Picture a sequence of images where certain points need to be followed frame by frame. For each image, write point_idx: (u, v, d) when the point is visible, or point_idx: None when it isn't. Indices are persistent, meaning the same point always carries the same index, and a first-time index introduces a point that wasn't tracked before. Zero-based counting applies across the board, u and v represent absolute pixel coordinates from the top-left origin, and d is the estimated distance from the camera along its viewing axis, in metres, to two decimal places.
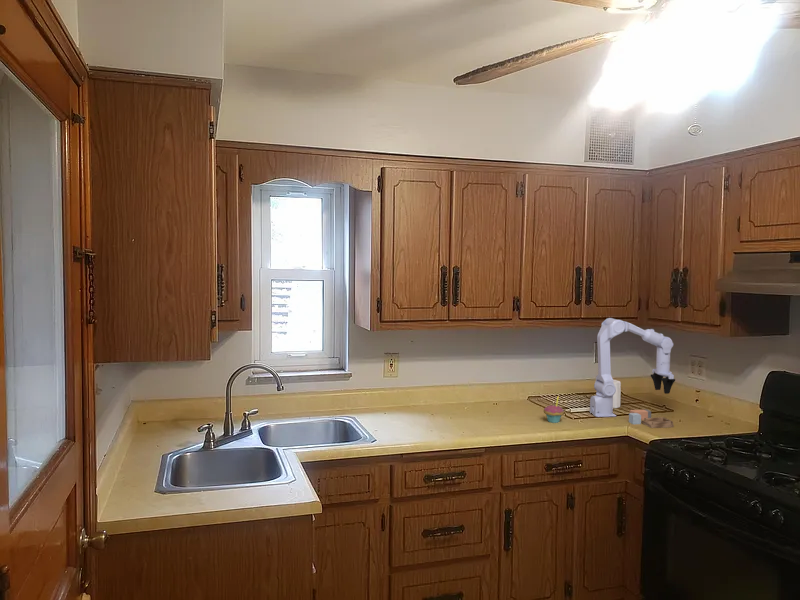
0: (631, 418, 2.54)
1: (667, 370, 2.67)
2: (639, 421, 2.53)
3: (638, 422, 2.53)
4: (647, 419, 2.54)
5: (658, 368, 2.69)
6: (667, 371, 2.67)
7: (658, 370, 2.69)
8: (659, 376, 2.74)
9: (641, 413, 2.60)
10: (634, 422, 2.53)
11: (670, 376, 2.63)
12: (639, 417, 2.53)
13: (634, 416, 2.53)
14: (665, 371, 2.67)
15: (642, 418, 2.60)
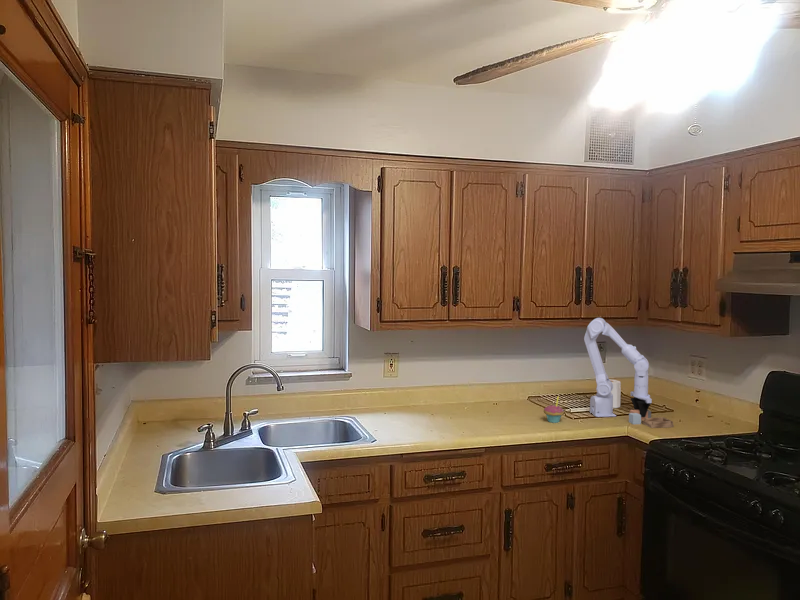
0: (631, 418, 2.54)
1: (645, 393, 2.59)
2: (639, 421, 2.53)
3: (638, 422, 2.53)
4: (647, 419, 2.54)
5: (636, 391, 2.60)
6: (645, 394, 2.59)
7: (636, 393, 2.60)
8: (639, 400, 2.64)
9: None
10: (634, 422, 2.53)
11: (648, 400, 2.54)
12: (639, 417, 2.53)
13: (634, 416, 2.53)
14: (643, 394, 2.58)
15: (642, 418, 2.60)
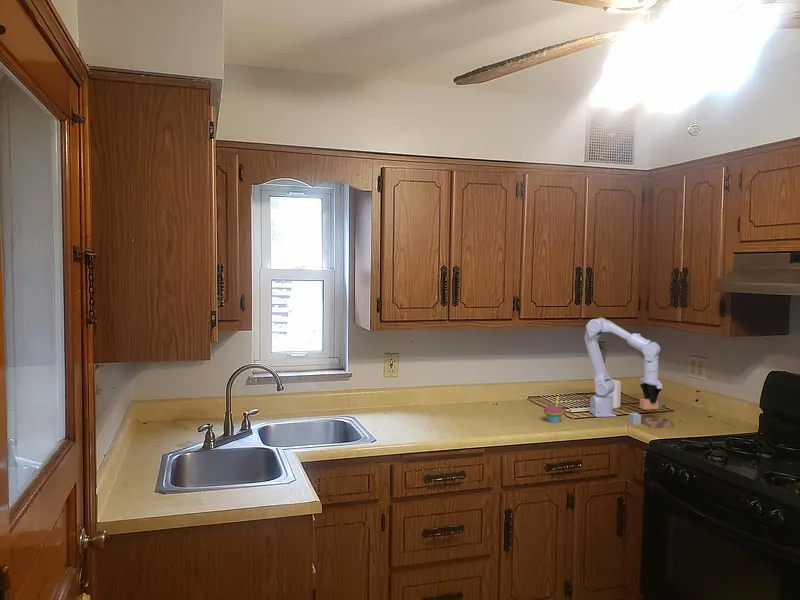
0: (631, 418, 2.54)
1: (655, 379, 2.52)
2: (639, 421, 2.53)
3: (638, 422, 2.53)
4: (647, 419, 2.54)
5: (646, 377, 2.54)
6: (655, 380, 2.52)
7: (646, 379, 2.54)
8: (649, 386, 2.57)
9: None
10: (634, 422, 2.53)
11: (658, 385, 2.48)
12: (639, 417, 2.53)
13: (634, 416, 2.53)
14: (653, 380, 2.52)
15: (652, 407, 2.54)
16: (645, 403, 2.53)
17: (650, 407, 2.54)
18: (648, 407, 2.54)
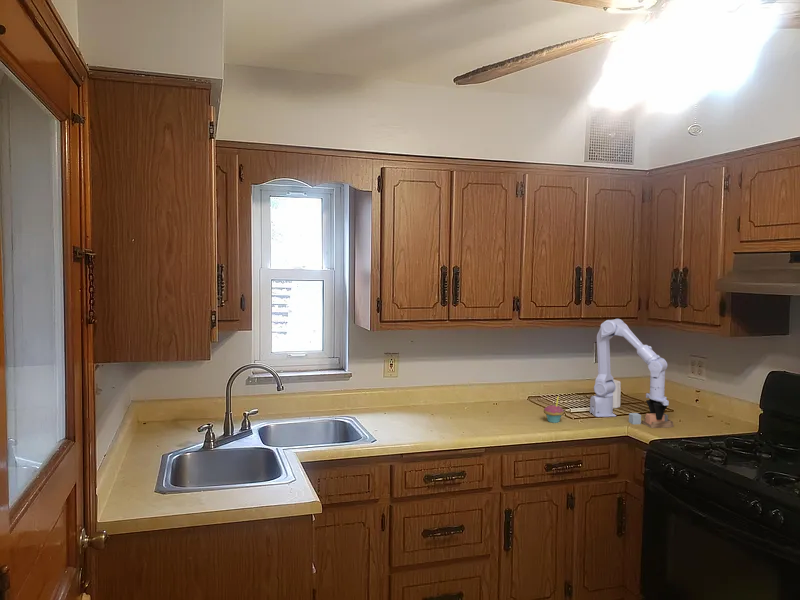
0: (631, 418, 2.54)
1: (661, 395, 2.48)
2: (639, 421, 2.53)
3: (638, 422, 2.53)
4: None
5: (652, 393, 2.50)
6: (661, 396, 2.48)
7: (652, 395, 2.50)
8: (655, 402, 2.53)
9: None
10: (634, 422, 2.53)
11: (665, 402, 2.44)
12: (639, 417, 2.53)
13: (634, 416, 2.53)
14: (659, 396, 2.48)
15: None
16: (651, 418, 2.49)
17: None
18: None
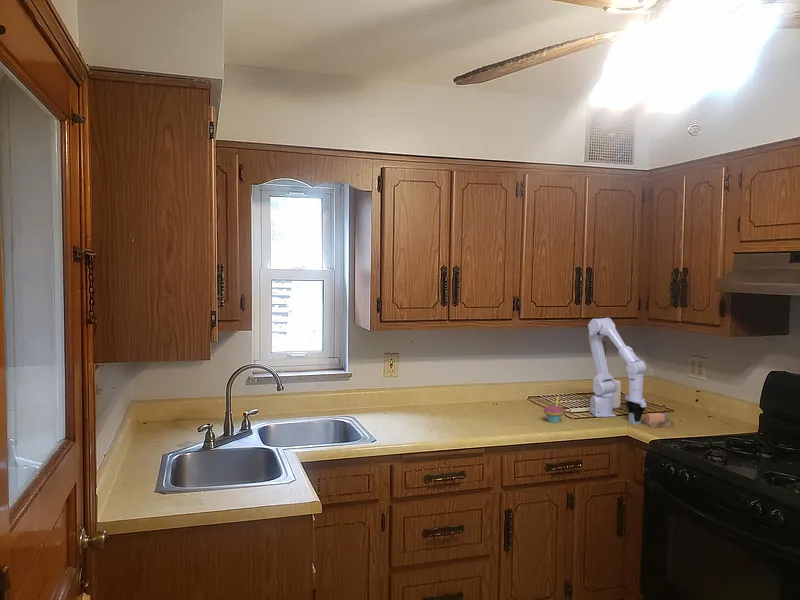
0: (631, 418, 2.54)
1: (640, 397, 2.52)
2: (639, 421, 2.53)
3: (638, 422, 2.53)
4: None
5: (630, 395, 2.53)
6: (640, 398, 2.52)
7: (630, 397, 2.53)
8: (634, 404, 2.56)
9: (657, 417, 2.50)
10: (634, 422, 2.53)
11: (642, 404, 2.47)
12: None
13: None
14: (637, 398, 2.51)
15: None
16: (651, 418, 2.49)
17: None
18: None
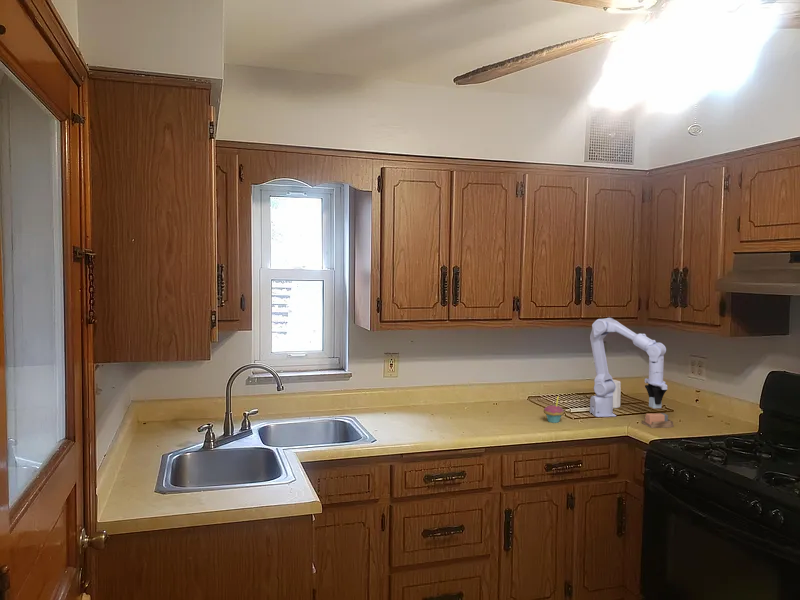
0: (651, 402, 2.51)
1: (660, 380, 2.48)
2: (659, 405, 2.50)
3: (658, 406, 2.50)
4: None
5: (651, 378, 2.49)
6: (660, 381, 2.48)
7: (651, 380, 2.50)
8: (654, 387, 2.53)
9: (657, 417, 2.50)
10: (654, 406, 2.50)
11: (663, 387, 2.44)
12: None
13: (654, 400, 2.49)
14: (658, 381, 2.48)
15: None
16: (651, 418, 2.49)
17: None
18: None
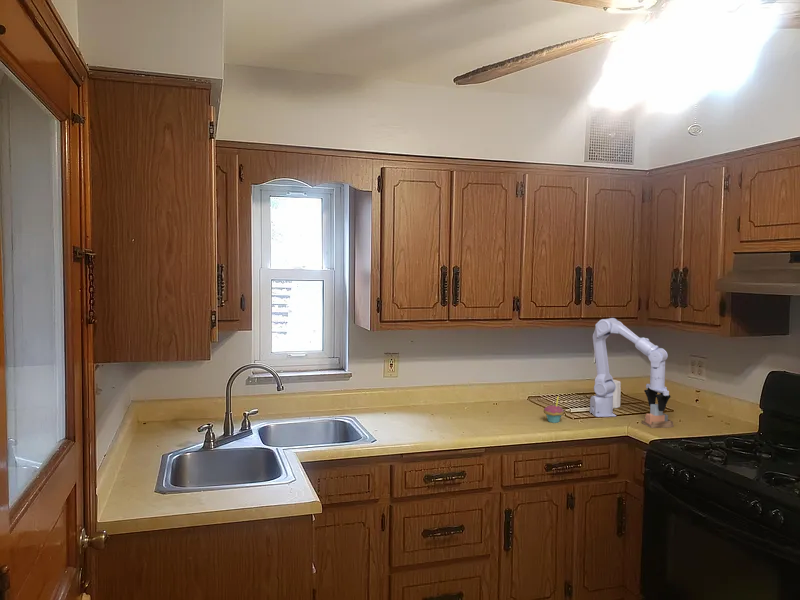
0: (653, 409, 2.51)
1: (662, 386, 2.48)
2: (661, 412, 2.50)
3: (660, 413, 2.50)
4: None
5: (652, 383, 2.49)
6: (662, 387, 2.48)
7: (652, 386, 2.49)
8: (653, 392, 2.55)
9: (657, 417, 2.50)
10: (656, 413, 2.50)
11: (665, 392, 2.44)
12: None
13: (656, 407, 2.49)
14: (660, 387, 2.48)
15: None
16: (651, 418, 2.49)
17: None
18: None
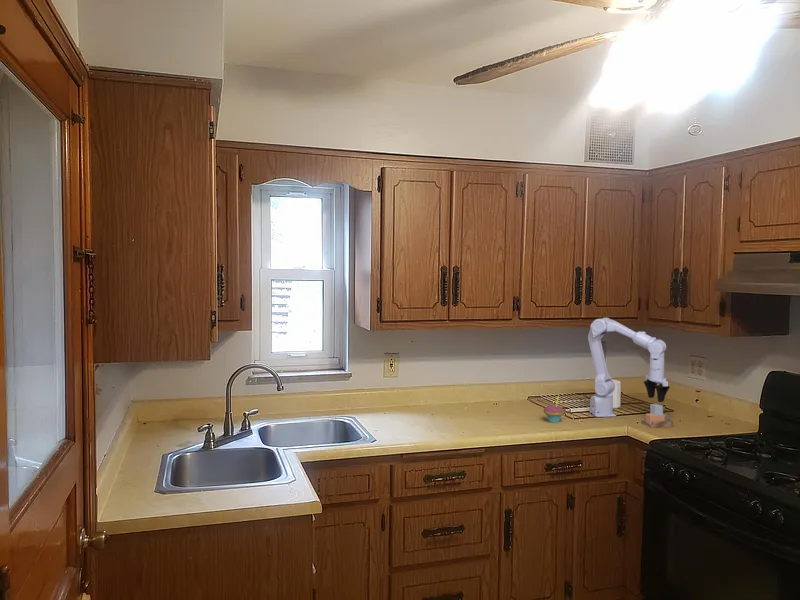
0: (653, 409, 2.51)
1: (661, 377, 2.50)
2: (661, 412, 2.50)
3: (660, 413, 2.50)
4: None
5: (651, 374, 2.52)
6: (661, 378, 2.50)
7: (651, 377, 2.52)
8: (653, 383, 2.57)
9: (657, 417, 2.50)
10: (656, 413, 2.50)
11: (664, 383, 2.46)
12: (661, 408, 2.50)
13: (656, 407, 2.49)
14: (659, 378, 2.50)
15: None
16: (651, 418, 2.49)
17: None
18: None
